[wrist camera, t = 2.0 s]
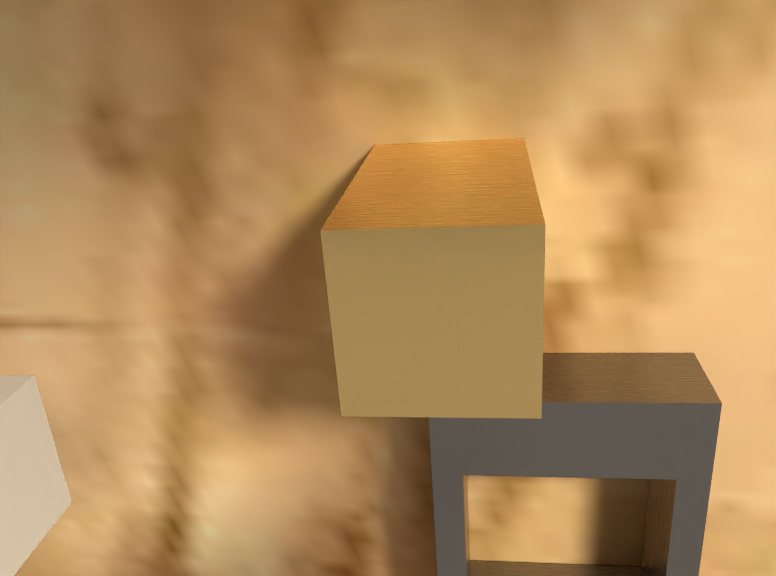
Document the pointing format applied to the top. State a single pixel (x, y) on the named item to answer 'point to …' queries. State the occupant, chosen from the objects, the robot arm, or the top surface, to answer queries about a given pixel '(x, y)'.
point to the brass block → (438, 282)
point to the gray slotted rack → (591, 455)
